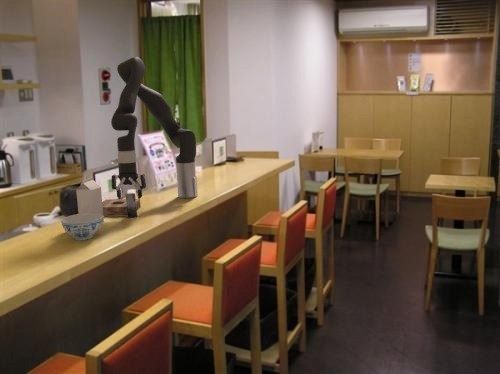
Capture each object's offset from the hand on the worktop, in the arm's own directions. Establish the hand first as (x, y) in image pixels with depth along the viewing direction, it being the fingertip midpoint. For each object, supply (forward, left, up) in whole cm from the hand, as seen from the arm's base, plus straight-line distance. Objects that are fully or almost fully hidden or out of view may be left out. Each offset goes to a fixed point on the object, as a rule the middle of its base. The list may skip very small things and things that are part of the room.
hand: (129, 198), depth 250 cm
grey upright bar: (-1, 0, -8) cm, 8 cm away
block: (+8, -10, -8) cm, 15 cm away
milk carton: (+13, +11, -8) cm, 19 cm away
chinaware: (+9, +32, -8) cm, 34 cm away
